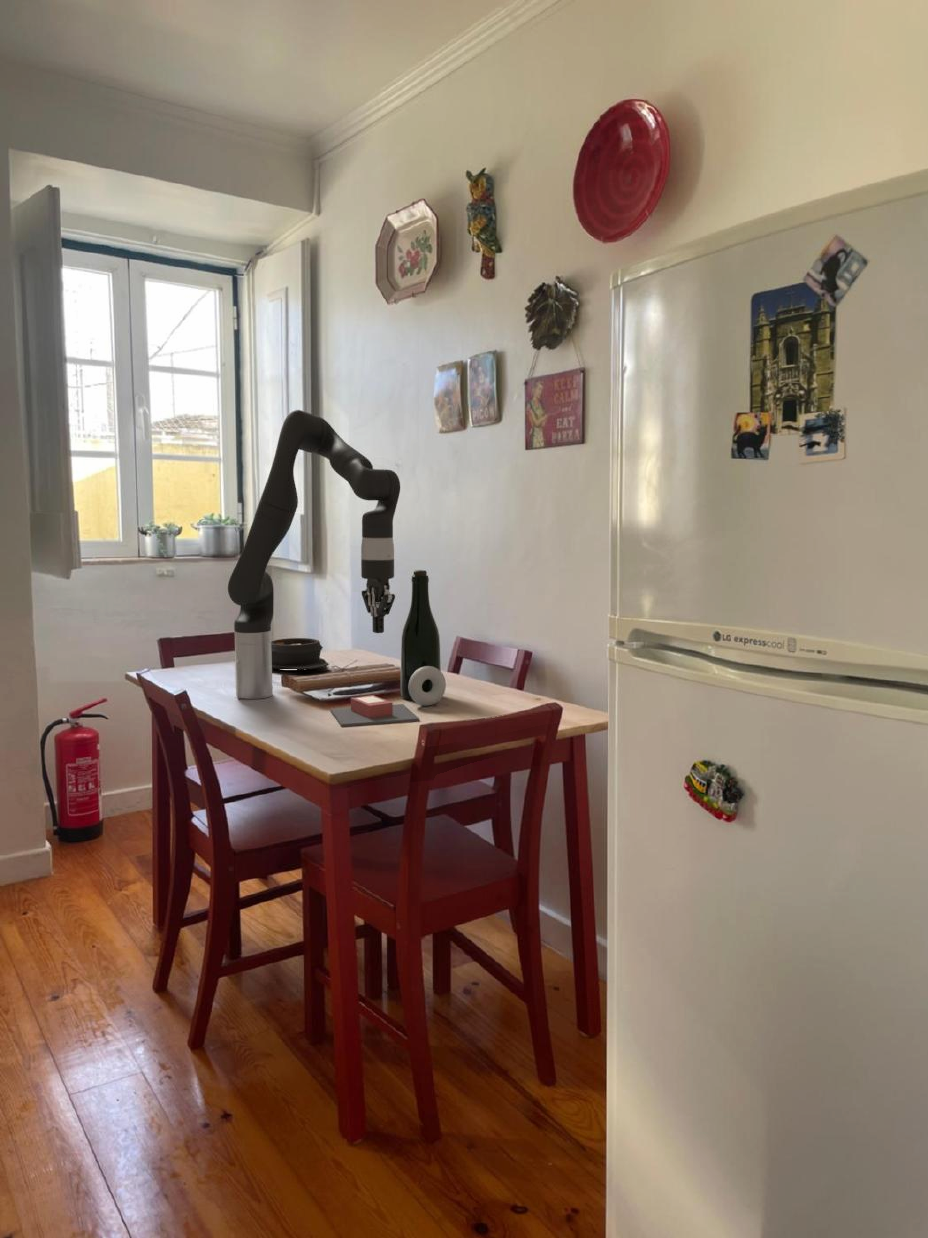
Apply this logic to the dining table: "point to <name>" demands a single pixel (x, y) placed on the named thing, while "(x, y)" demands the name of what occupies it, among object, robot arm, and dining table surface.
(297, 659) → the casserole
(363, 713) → the card box
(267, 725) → the dining table surface
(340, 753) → the dining table surface
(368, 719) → the mat
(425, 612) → the dark green wine bottle
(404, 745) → the dining table surface
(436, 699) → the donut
